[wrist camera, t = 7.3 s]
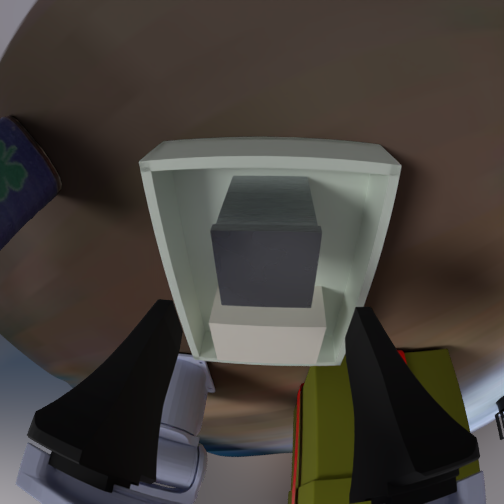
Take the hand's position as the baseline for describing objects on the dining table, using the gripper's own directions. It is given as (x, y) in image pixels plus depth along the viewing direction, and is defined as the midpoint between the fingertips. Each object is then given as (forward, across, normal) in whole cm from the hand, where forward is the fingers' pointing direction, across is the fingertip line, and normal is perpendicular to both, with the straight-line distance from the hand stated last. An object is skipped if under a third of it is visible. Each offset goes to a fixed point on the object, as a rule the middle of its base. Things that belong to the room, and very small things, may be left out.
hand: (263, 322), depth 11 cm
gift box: (+10, -13, +25) cm, 30 cm away
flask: (+10, +19, -6) cm, 22 cm away
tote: (+9, 0, +4) cm, 10 cm away
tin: (+9, 0, 0) cm, 9 cm away
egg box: (+9, 0, +9) cm, 13 cm away
